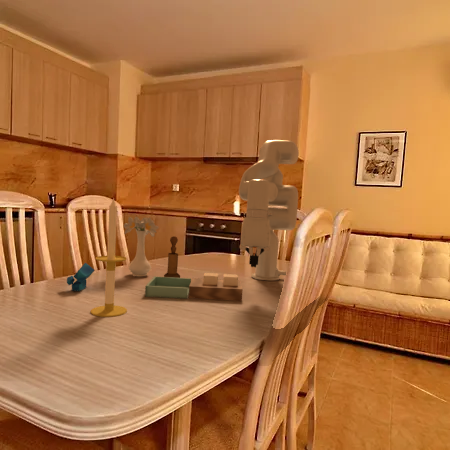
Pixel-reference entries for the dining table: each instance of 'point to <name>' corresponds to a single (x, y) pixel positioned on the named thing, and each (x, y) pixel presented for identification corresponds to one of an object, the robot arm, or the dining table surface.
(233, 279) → the tile
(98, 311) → the candle
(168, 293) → the tray
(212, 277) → the tile
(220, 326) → the dining table surface
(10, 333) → the dining table surface
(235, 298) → the board
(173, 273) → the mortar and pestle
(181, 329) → the dining table surface
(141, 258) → the flower vase
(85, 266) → the crystal
